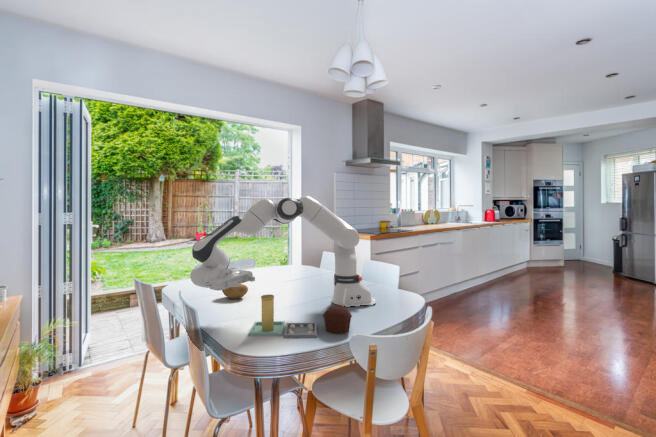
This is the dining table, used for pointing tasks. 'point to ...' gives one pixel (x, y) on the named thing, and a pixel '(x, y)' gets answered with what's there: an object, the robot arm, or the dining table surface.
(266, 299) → the tan capped cylinder
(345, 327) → the muffin
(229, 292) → the potato
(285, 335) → the gravel tray
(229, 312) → the dining table surface
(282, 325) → the green tray
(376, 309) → the dining table surface
